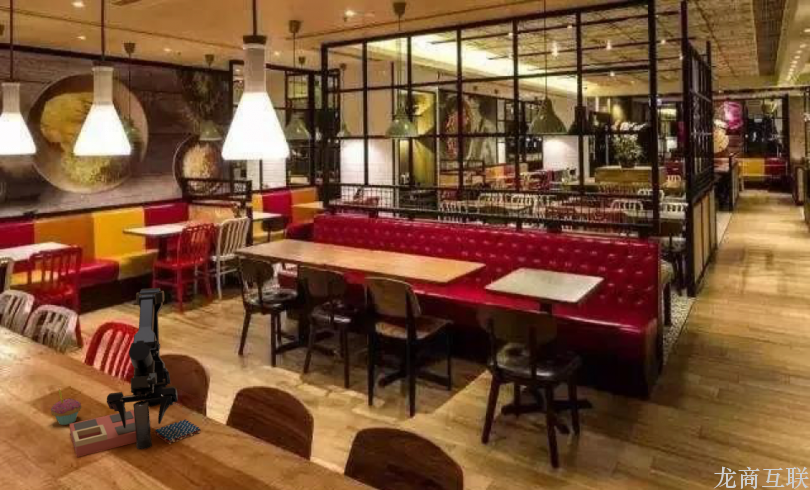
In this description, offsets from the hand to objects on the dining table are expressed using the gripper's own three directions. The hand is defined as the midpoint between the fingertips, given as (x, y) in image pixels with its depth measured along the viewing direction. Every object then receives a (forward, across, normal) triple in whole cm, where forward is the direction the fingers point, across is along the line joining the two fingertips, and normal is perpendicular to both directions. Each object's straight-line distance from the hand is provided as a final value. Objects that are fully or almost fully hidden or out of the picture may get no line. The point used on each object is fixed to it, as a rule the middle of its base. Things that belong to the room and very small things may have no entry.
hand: (142, 425), depth 175 cm
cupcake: (-14, -26, +24) cm, 38 cm away
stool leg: (+4, 0, +6) cm, 7 cm away
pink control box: (-3, -12, +13) cm, 18 cm away
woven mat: (0, +9, +10) cm, 14 cm away
